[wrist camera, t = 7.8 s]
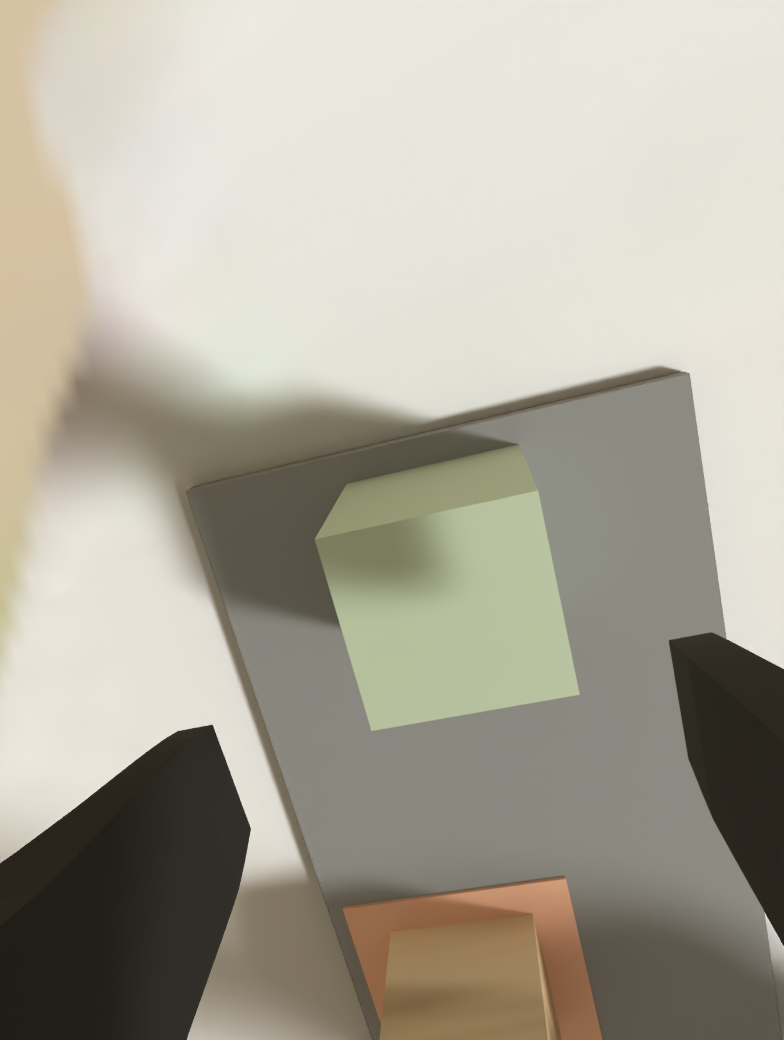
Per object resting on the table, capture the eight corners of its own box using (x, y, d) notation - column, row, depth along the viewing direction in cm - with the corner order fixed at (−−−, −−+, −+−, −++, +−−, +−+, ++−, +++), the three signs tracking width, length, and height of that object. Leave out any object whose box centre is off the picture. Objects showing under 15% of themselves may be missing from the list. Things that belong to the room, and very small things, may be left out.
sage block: (552, 606, 20) (579, 694, 15) (389, 637, 20) (371, 731, 16) (518, 444, 18) (537, 490, 14) (346, 483, 19) (314, 538, 15)
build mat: (777, 1038, 24) (785, 1056, 23) (391, 1077, 26) (389, 1094, 25) (683, 371, 18) (690, 374, 17) (192, 487, 20) (184, 492, 19)
